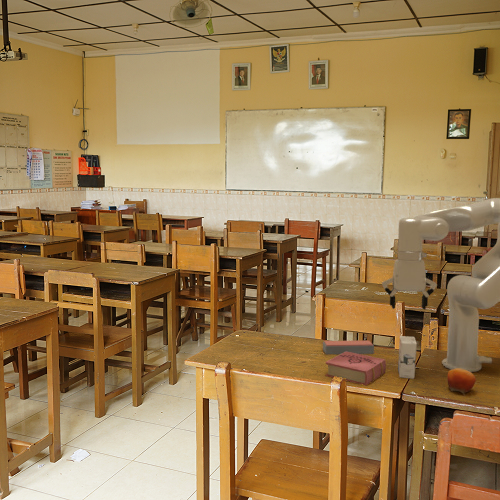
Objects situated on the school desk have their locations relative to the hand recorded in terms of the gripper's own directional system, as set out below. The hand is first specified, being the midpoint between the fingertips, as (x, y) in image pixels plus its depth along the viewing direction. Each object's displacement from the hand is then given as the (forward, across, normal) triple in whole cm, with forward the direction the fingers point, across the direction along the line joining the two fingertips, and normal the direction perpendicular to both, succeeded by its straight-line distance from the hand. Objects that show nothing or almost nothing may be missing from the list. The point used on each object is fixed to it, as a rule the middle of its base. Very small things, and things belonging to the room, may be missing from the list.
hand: (408, 308), depth 176 cm
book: (+23, +16, +3) cm, 28 cm away
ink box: (+22, 0, 0) cm, 22 cm away
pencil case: (+22, +18, -22) cm, 36 cm away
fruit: (+22, -14, +13) cm, 30 cm away
